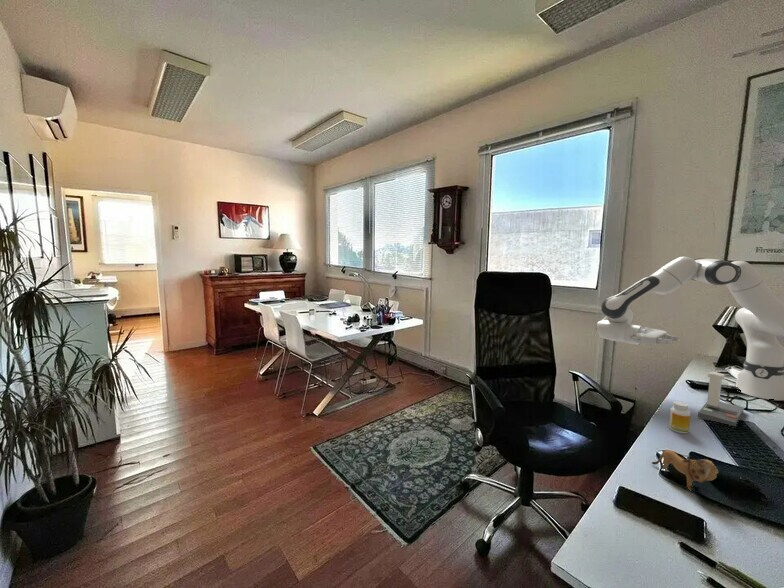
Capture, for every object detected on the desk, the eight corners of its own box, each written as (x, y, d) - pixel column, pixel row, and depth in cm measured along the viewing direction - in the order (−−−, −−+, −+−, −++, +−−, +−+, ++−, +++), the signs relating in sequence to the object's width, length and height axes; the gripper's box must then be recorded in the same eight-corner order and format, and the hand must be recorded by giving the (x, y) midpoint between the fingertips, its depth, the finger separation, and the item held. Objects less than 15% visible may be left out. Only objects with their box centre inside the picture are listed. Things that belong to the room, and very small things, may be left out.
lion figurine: (720, 496, 84) (723, 463, 83) (707, 501, 82) (711, 467, 81) (656, 462, 98) (659, 434, 97) (644, 466, 96) (647, 437, 95)
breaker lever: (706, 403, 132) (710, 371, 131) (720, 407, 129) (724, 374, 128) (704, 405, 130) (708, 373, 129) (718, 409, 127) (722, 376, 126)
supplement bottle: (692, 434, 114) (695, 407, 113) (674, 433, 115) (677, 406, 114) (682, 426, 119) (684, 401, 118) (665, 425, 120) (667, 399, 119)
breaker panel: (708, 403, 138) (709, 398, 138) (743, 412, 130) (743, 407, 130) (697, 417, 126) (698, 411, 126) (735, 427, 118) (735, 422, 118)
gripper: (628, 330, 144) (668, 336, 133) (643, 325, 156) (681, 330, 145) (627, 345, 144) (667, 352, 133) (642, 338, 157) (680, 344, 146)
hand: (675, 340), depth 139 cm, fingers open, 8 cm apart
